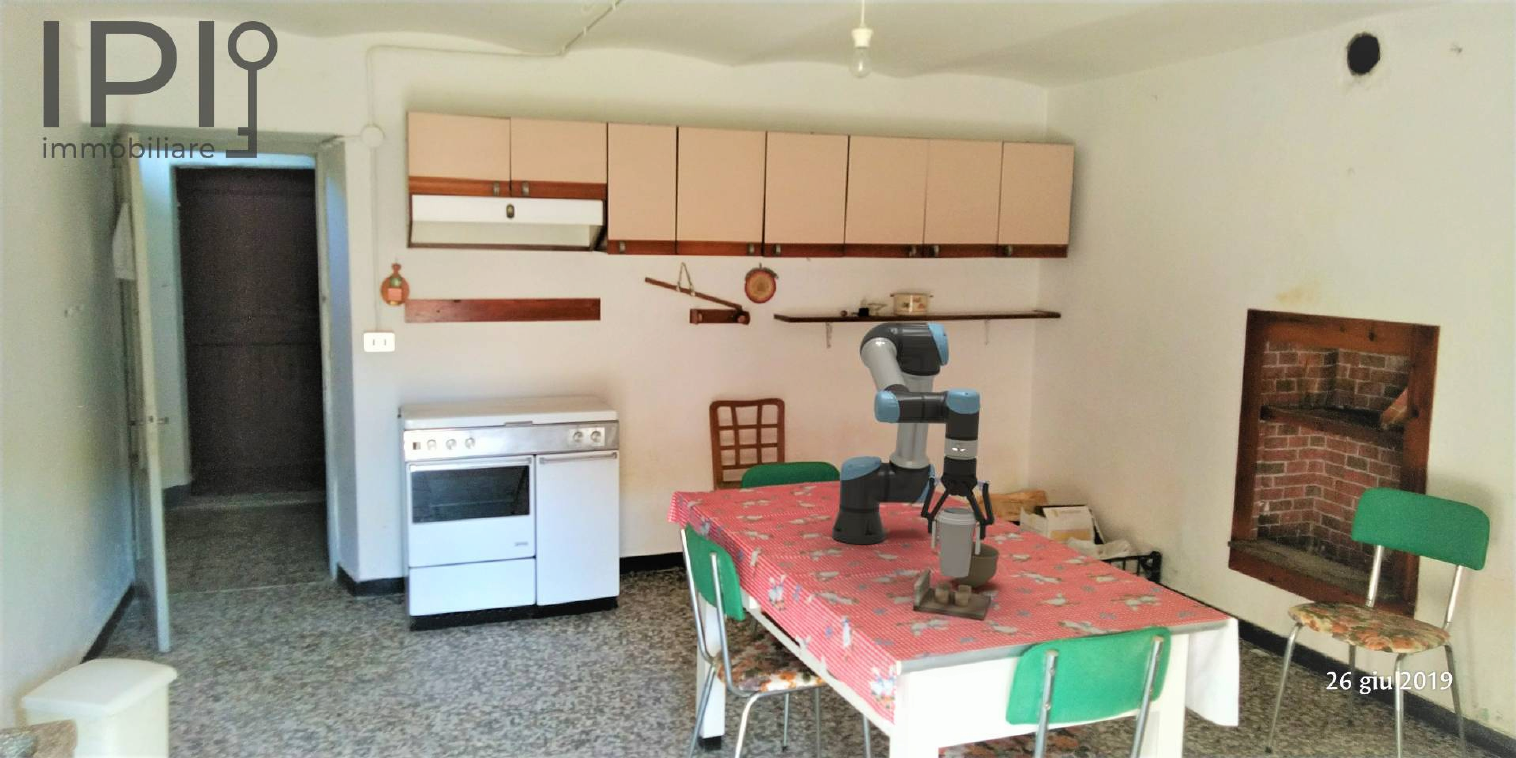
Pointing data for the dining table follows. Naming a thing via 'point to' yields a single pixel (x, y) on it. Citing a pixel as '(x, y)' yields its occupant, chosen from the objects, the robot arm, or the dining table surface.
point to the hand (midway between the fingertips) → (955, 549)
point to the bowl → (981, 566)
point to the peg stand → (948, 599)
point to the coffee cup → (956, 540)
